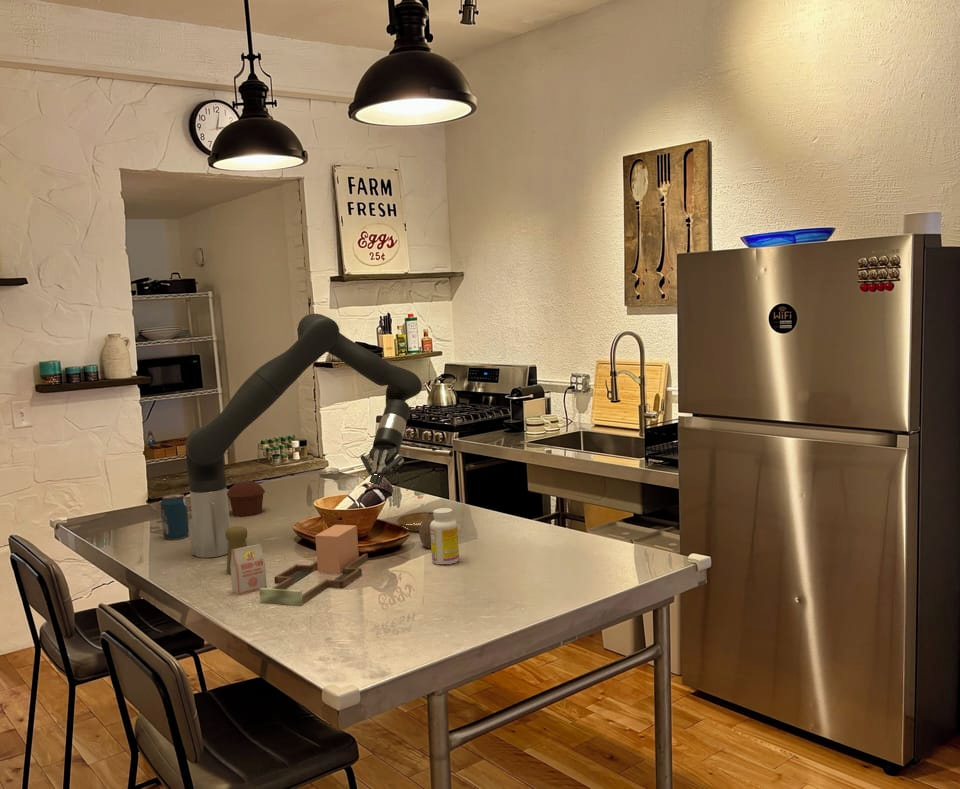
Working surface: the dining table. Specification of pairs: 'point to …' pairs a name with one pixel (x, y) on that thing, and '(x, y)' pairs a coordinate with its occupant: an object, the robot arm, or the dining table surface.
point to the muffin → (246, 498)
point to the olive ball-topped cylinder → (235, 541)
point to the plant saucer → (412, 520)
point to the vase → (426, 530)
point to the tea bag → (248, 569)
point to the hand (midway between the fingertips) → (374, 486)
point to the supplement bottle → (444, 537)
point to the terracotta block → (336, 548)
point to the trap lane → (296, 597)
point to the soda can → (174, 516)
